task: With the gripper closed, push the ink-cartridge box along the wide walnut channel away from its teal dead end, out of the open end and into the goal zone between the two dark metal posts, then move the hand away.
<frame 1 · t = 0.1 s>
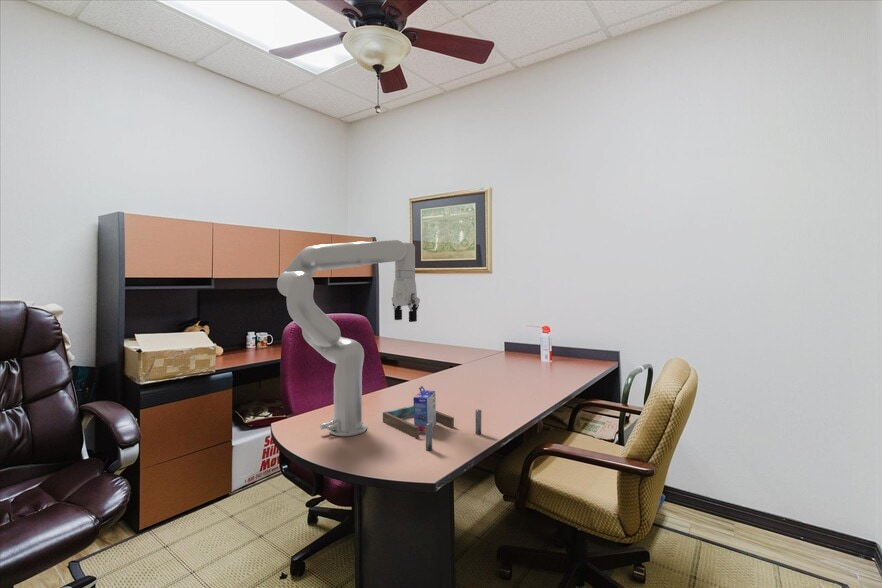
hand: (405, 320, 159), 37 cm above the table, tool pointing down, fingers open, 9 cm apart
ink cartridge box: (425, 428, 147), on the table
post left: (429, 449, 128), on the table
channel: (418, 424, 150), on the table
post right: (478, 433, 141), on the table
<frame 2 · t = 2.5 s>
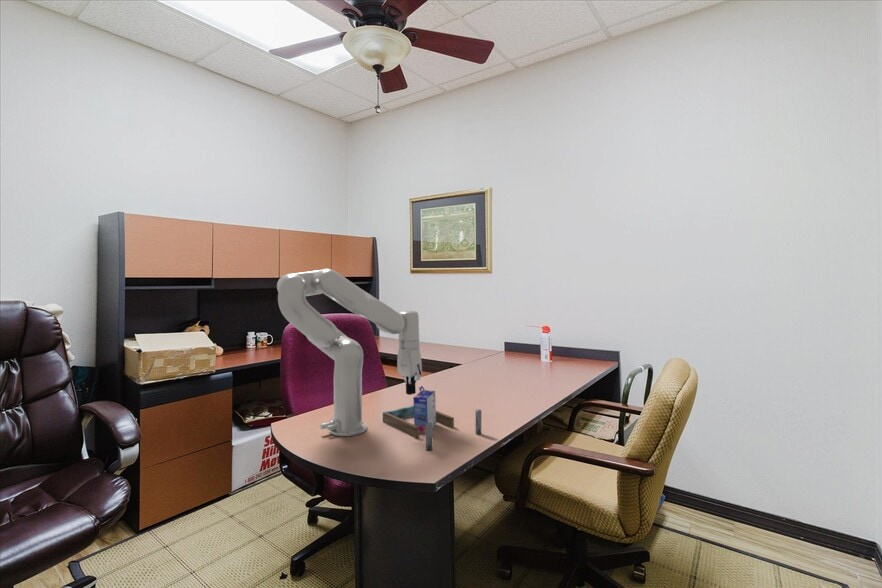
hand: (410, 393, 155), 10 cm above the table, tool pointing down, fingers closed
nothing on the table moved.
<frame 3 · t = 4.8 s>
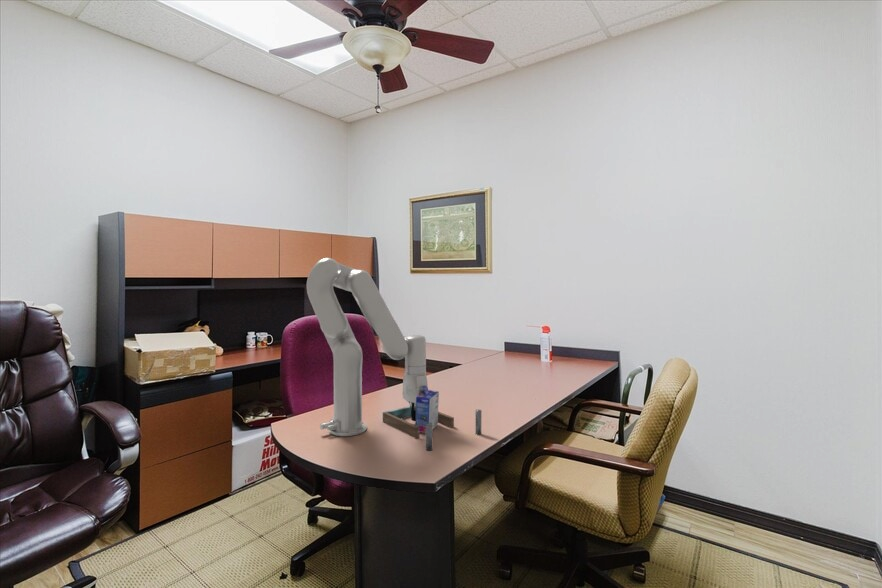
hand: (416, 419, 152), 1 cm above the table, tool pointing down, fingers closed
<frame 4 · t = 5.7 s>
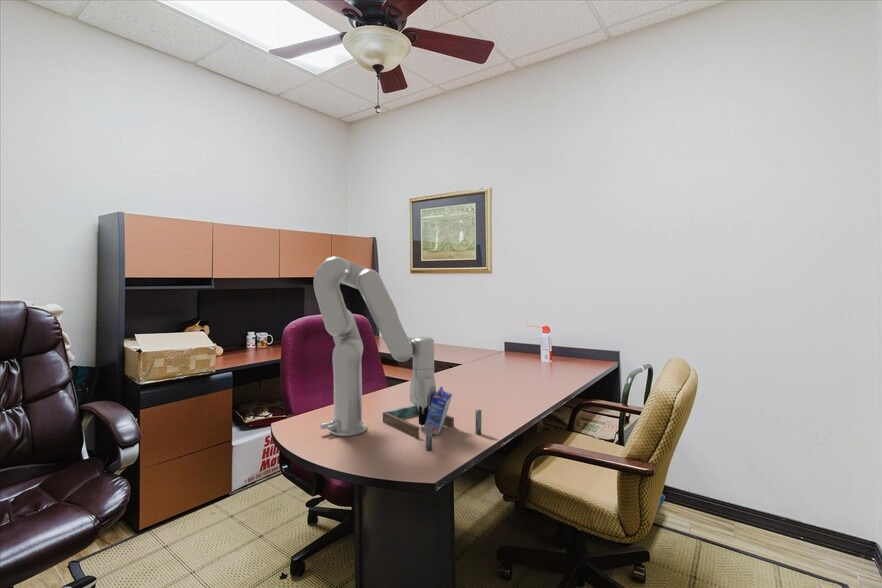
hand: (423, 424, 148), 1 cm above the table, tool pointing down, fingers closed
ink cartridge box: (432, 428, 145), point 1 cm above the table, touching gripper
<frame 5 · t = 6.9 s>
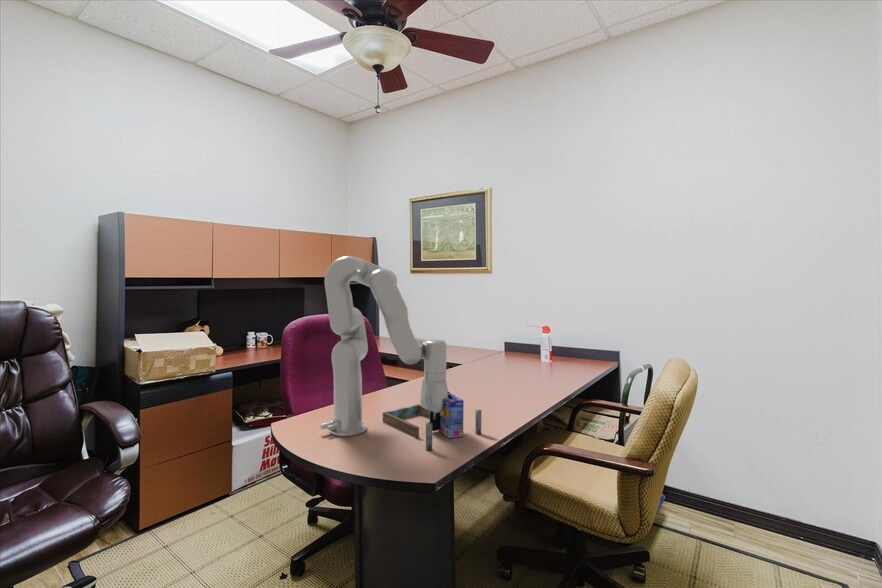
hand: (434, 429, 143), 1 cm above the table, tool pointing down, fingers closed
ink cartridge box: (449, 433, 142), on the table, touching gripper
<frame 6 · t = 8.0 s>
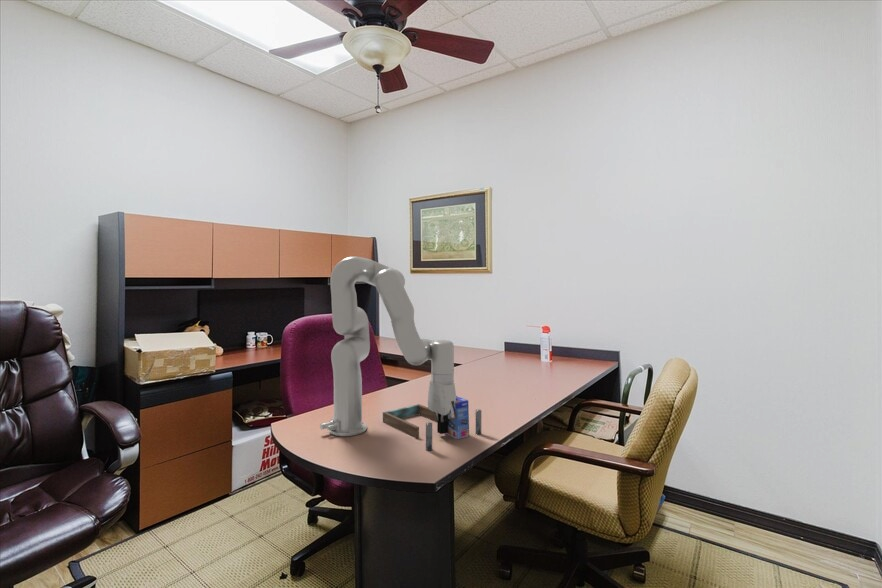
hand: (442, 432, 140), 1 cm above the table, tool pointing down, fingers closed
ink cartridge box: (453, 434, 142), on the table
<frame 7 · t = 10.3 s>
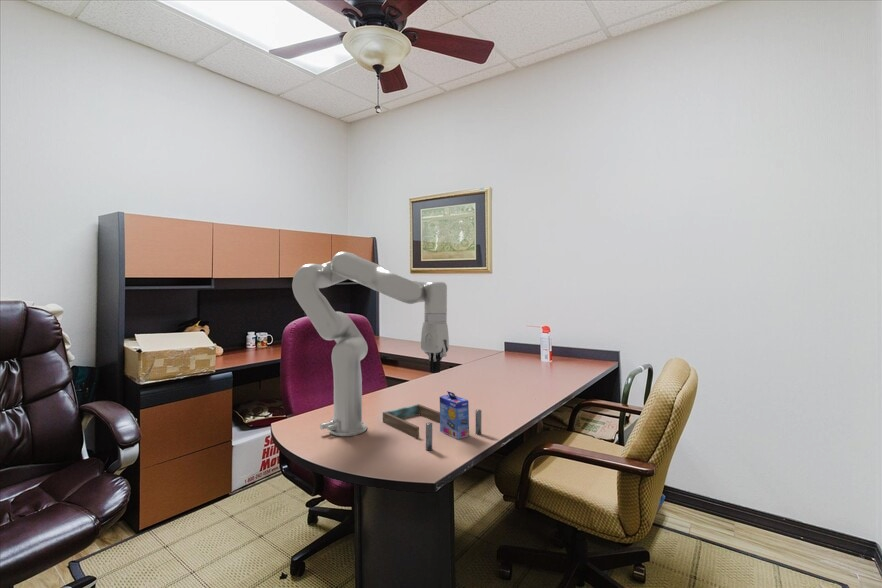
hand: (435, 372, 142), 21 cm above the table, tool pointing down, fingers closed
nothing on the table moved.
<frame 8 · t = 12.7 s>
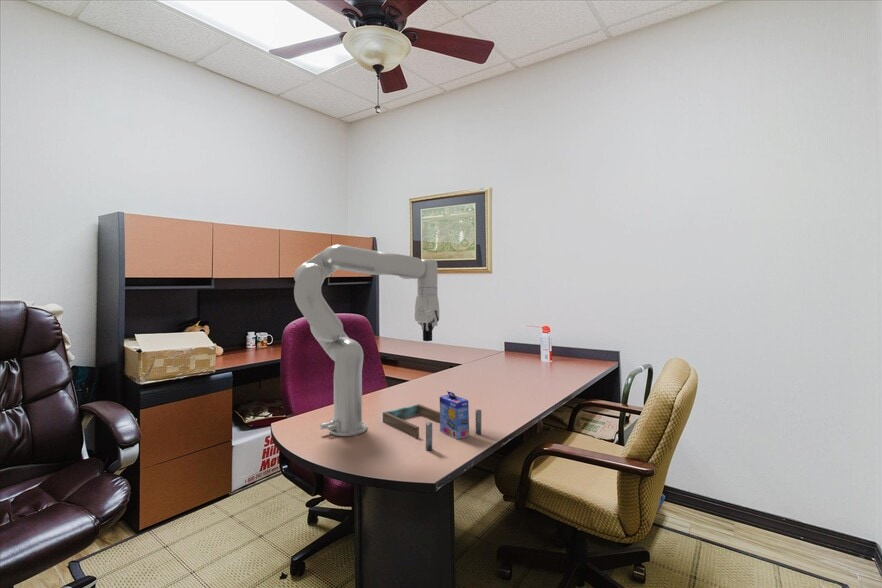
hand: (427, 340, 158), 29 cm above the table, tool pointing down, fingers closed
nothing on the table moved.
at the end: ink cartridge box inside the target area (7.7 cm from its centre), on the table; ink cartridge box tilted 0°; ink cartridge box moved 11.4 cm from its start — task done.
